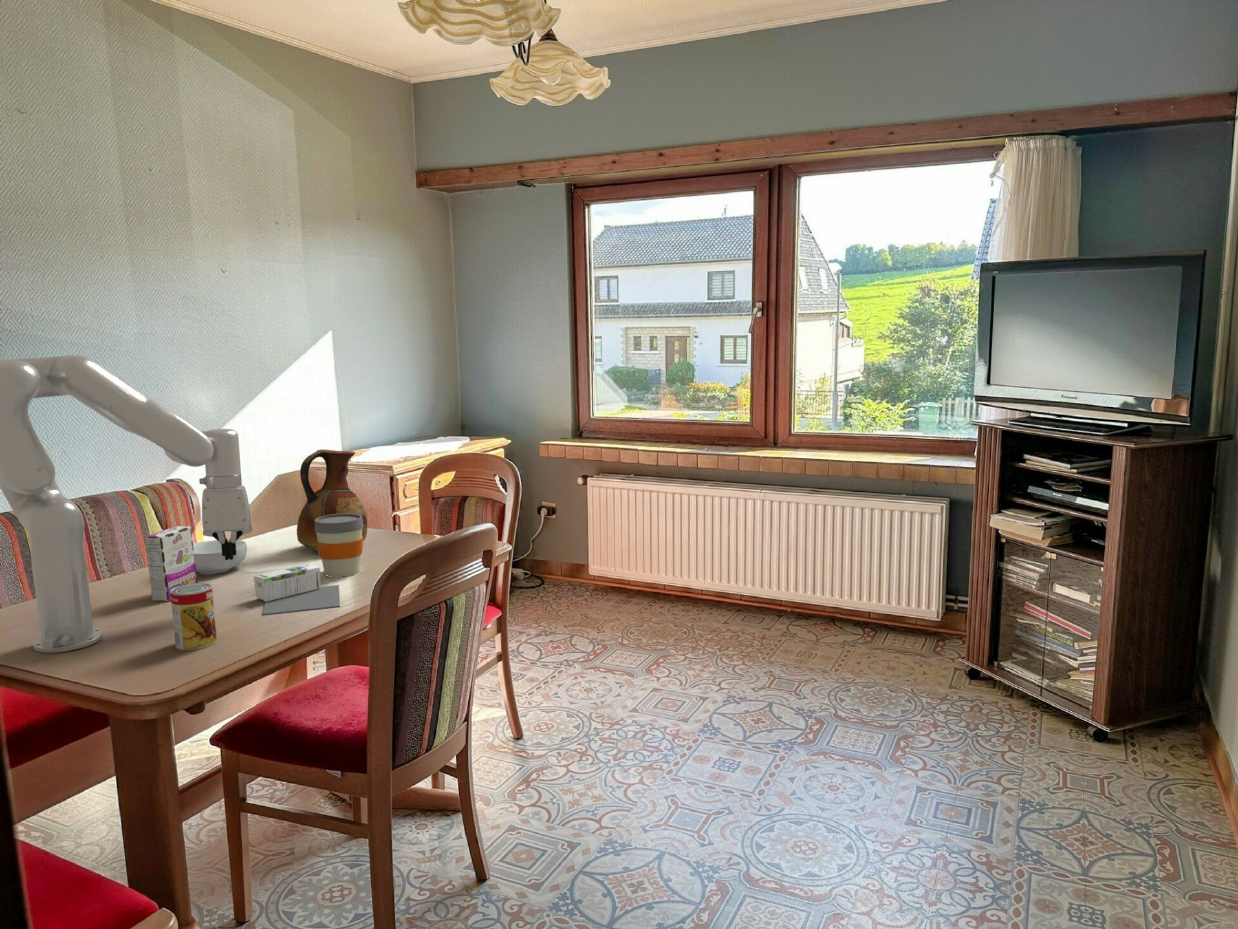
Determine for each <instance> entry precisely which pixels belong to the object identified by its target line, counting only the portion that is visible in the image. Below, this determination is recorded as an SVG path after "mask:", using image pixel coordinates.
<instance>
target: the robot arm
mask: <svg viewBox="0 0 1238 929" xmlns="http://www.w3.org/2000/svg"><path fill="white" fill-rule="evenodd" d="M63 396H70V397H73V398H74V399H76V400H77V401H79V402H80V403H82V404H83V405H85V406H87V407H89V408H90V409H91V410H93V411H95V412H96V413H97V414H99V415H100V416H102V417H103V418H105V419H106V420H108V421H109V422H111V423H113V425H116V426H117V427H119V428H120V429H123V430H124V431H126V432H129V433H131V434H134V435H137V436H139V437H142V438H143V439H145V440H147V441H150V442H151V443H153V444H154V445H156V446H158V447H160V448H161V449H163V451H164V454H165V455H166V456H167V458H169V459H170V461H173V462H175V463H178V464H181V465H185V466H187V467H191V468H192V467H193V468H195V467H196V468H197V467H202V466H204V467H205V470H204V471H205V476H204V477H203V478H199V480H198V482H199V485H204V486H205V488H203V490H202V495H201V499H202V500H201V525H202V535H203V536H204V537H210V538H211V537H212V538H213V539H214V540H218V541H219V542H220V543H221V547H222V556H225V560H228V559H230V560H233V558H234V555H236V541H237V540H240V538H241V537H242V536H243V535H247V534H250V533H252V532H253V527H252V524H251V511H250V502H249V497H248V493H247V490H246V486H245V485H243V484H242V483H243V480H242V468H241V466H242V465H241V452H240V440H239V433H238V431H236V430H234V429H231V428H215V429H209V430H207V431H205V430H203V431H202V430H201V431H200V430H199V429H197V428H195V427H194V426H193V425H191V424H190V423H188V422H187V421H185V420H184V419H183V418H181V417H180V416H178V415H177V414H174V413H173V412H171V411H170V410H168V409H166V408H165V407H163V406H161V405H160V404H159V403H158V402H156V401H154V400H153V399H152V398H150V397H148V396H146V395H145V394H143V393H142V392H141V391H139V390H138V389H136V388H135V387H133V386H132V385H130V384H129V383H127V382H126V381H125V380H123V379H122V378H120V377H118V376H117V375H116V374H114V373H113V372H111V371H110V370H108V369H107V368H105V367H104V366H102V365H101V364H100V363H98V362H97V361H95V360H93V359H91V358H89V357H87V356H83V355H61V356H60V355H59V356H49V357H48V356H47V357H46V356H45V357H32V358H31V357H30V358H29V357H28V358H5V359H0V489H1V491H2V494H3V495H4V497H5V499H6V501H7V502H8V504H9V506H10V508H11V509H12V511H13V514H14V515H15V517H16V518H17V520H18V521H19V523H20V524H21V525H22V527H23V528H24V529H25V531H26V532H27V531H28V533H29V539H30V540H29V541H30V542H29V543H30V560H31V561H30V562H31V569H32V578H33V583H34V584H33V586H34V592H35V600H36V609H37V615H38V616H37V617H38V625H39V632H40V637H38V638H37V639H35V640H34V641H33V642H32V648H33V650H34V651H36V652H38V653H46V654H49V653H50V654H55V653H63V652H64V653H65V652H70V651H74V650H79V649H84V648H86V647H90V646H91V645H95V644H96V643H98V642H100V641H101V640H102V639H103V636H104V635H103V631H102V630H101V629H99V628H96V627H94V620H93V613H92V612H93V611H92V602H91V594H90V586H89V577H88V569H87V568H88V567H87V561H86V552H85V520H84V516H83V514H82V511H81V509H80V508H79V507H78V505H77V504H76V503H75V502H74V501H72V500H71V499H69V498H67V497H65V496H64V495H63V492H62V491H61V489H60V487H59V486H58V483H57V481H56V479H55V478H56V469H55V465H54V462H53V461H52V459H51V458H50V456H49V455H48V453H47V451H46V450H45V447H44V446H43V444H42V442H41V441H40V439H39V437H38V434H37V433H36V430H35V428H34V426H33V424H32V422H31V420H30V415H29V405H30V404H31V402H32V400H33V399H37V398H39V399H40V398H41V399H42V398H52V397H53V398H54V397H63ZM225 532H230V538H229V539H228V538H227V536H226V533H225ZM227 540H229V542H228V541H227Z"/></svg>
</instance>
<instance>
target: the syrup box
mask: <svg viewBox="0 0 1238 929" xmlns="http://www.w3.org/2000/svg"><path fill="white" fill-rule="evenodd" d="M253 582H254V583H253V584H254V585H253V586H254V592H255V597H256V598H257V599H260V600H261V601H264V602H265V601H266V602H267V601H271V600H275V599H280V598H284V597H288V596H292V595H296V594H300V593H304V592H308V591H312V590H316V589H320V588H321V587H322V578H321V570H320V567H319V566H314V565H312V564H309V563H307V564H303V565H298V566H293V567H289V568H283V569H279V570H275V571H269V572H266V573H262V574H257V575H254V576H253Z"/></svg>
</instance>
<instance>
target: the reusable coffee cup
mask: <svg viewBox="0 0 1238 929" xmlns="http://www.w3.org/2000/svg"><path fill="white" fill-rule="evenodd" d="M363 527H364V526H363V520H362V516H361V515H358V514H348V513H346V514H332V515H326V516H322V517H318V518H316V519H315V532H316V534H317V541H316V542H317V547H318V550H317V551H318V556H319V558H320V559H321V562H322V567H323V572H324V575H325V576H326V575H328V576H331V577H330V578H342V577H341V576H346V577H350V576H349V575H351V576H355V575H357V574H359V573H360V569H361V568H360V566H361V555H362V554H363V547H364V541H363V536H362V528H363ZM356 573H357V574H356ZM354 574H355V575H354ZM328 576H327V577H328Z"/></svg>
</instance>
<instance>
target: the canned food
mask: <svg viewBox="0 0 1238 929" xmlns="http://www.w3.org/2000/svg"><path fill="white" fill-rule="evenodd" d="M170 594H171V601H170V602H171V611H172V612H171V613H172V614H171V615H172V624H173V633H174V643H175V644H174V646H175V648H176V649H177V650H181V651H195V650H202V649H205V648H208V646H209V647H211V646H213V645H215V644H216V643H217V641H218V638H217V629H216V626H217V625H216V616H215V605H214V594H213V585H211V584H210V583H204V582H197V583H194V584H187V585H182V586H178V587H176V588H173V589H172V590H171V591H170ZM201 648H202V649H201Z"/></svg>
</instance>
